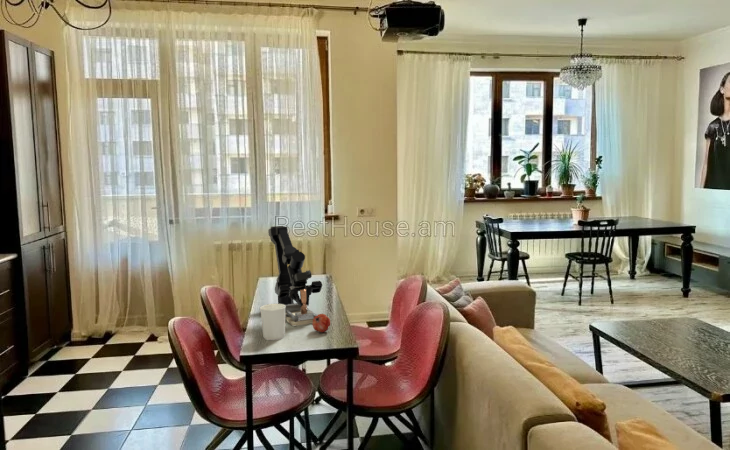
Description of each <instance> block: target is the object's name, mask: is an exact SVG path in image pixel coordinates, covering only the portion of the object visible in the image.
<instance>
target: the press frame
mask: <svg viewBox="0 0 730 450" xmlns="http://www.w3.org/2000/svg"><path fill="white" fill-rule="evenodd" d="M285 306H286V308H285V321H287V323H289V325H291V327H295V326H302V325H308V324H309V325H310V324H312V323H313V319H309V320H302V321H297V318H296V317H295V313H297V312H301V307H300V306H299V304H298V303H297V302H296V303H295V302H294V304H287V305H285ZM307 311H312V310H311V309H310V308H308V307H307ZM317 315H318V314H316V313H314V312H313V318H314V317H316V316H317Z"/></svg>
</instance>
